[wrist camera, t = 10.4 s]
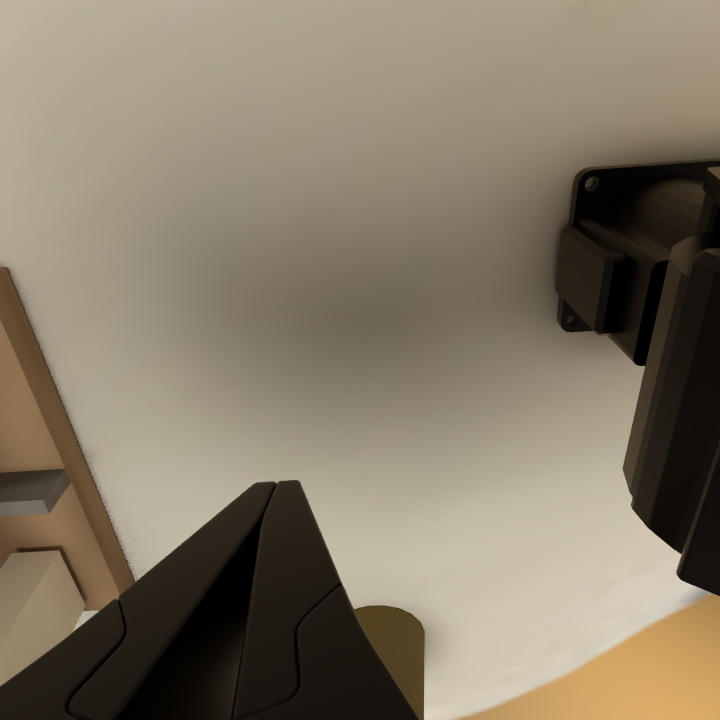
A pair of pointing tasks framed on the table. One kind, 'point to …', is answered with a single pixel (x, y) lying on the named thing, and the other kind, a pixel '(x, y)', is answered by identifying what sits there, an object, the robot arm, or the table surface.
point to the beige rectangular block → (34, 608)
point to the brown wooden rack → (48, 469)
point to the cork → (398, 648)
